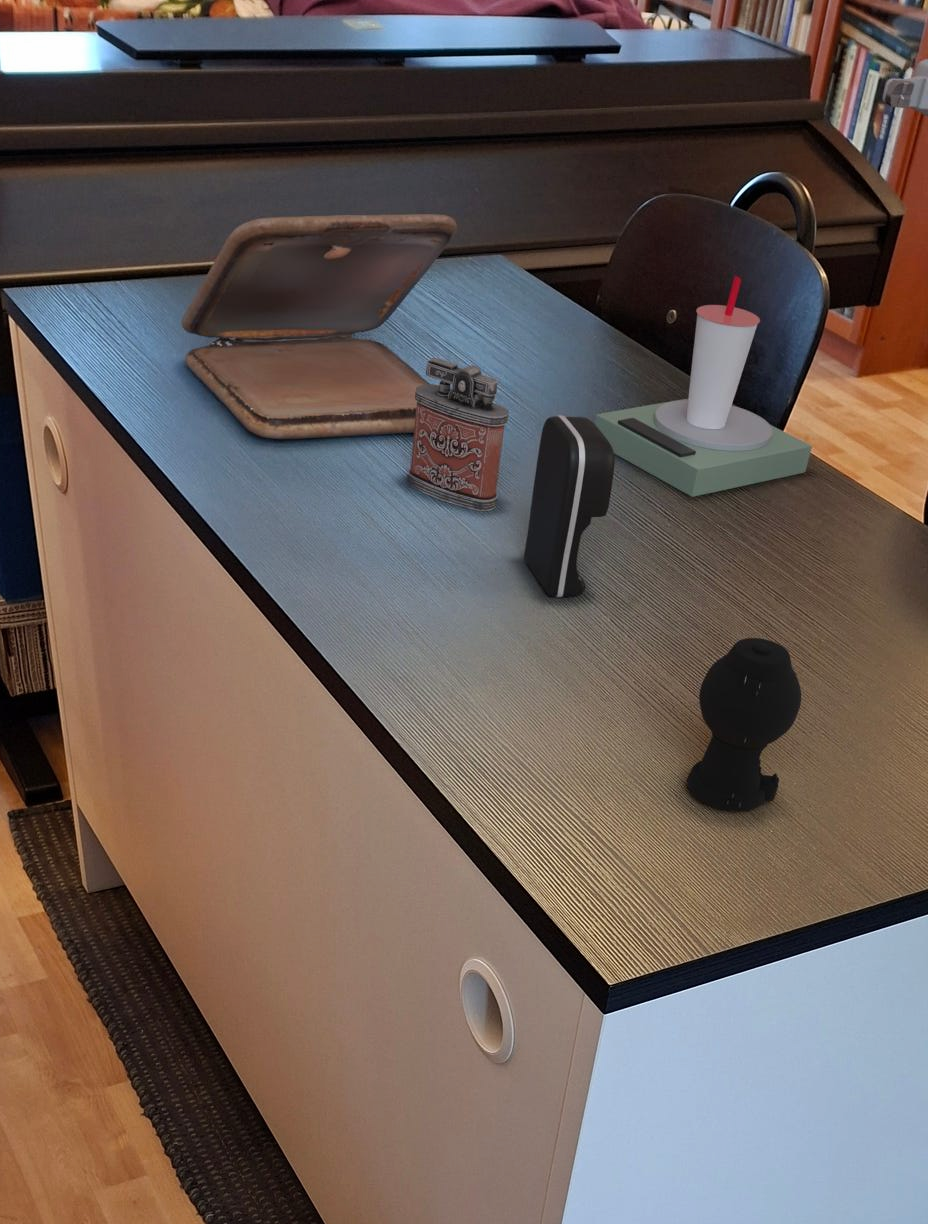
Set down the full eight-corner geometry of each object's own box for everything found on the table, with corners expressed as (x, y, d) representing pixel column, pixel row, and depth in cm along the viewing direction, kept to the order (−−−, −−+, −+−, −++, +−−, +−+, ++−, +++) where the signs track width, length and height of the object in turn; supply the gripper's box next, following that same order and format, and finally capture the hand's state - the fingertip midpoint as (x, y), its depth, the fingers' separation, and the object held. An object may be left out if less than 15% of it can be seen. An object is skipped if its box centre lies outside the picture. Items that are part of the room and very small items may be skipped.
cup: (727, 412, 141) (759, 268, 133) (742, 435, 137) (776, 288, 129) (669, 409, 140) (697, 263, 132) (682, 432, 136) (713, 283, 128)
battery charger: (597, 600, 116) (626, 445, 109) (548, 601, 115) (573, 445, 108) (568, 558, 121) (593, 407, 114) (521, 559, 120) (543, 406, 113)
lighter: (504, 503, 128) (521, 376, 122) (482, 515, 126) (499, 386, 119) (421, 473, 131) (433, 347, 124) (398, 484, 129) (409, 357, 122)
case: (379, 351, 152) (393, 165, 142) (475, 433, 139) (498, 235, 128) (174, 360, 145) (172, 164, 134) (254, 449, 131) (259, 238, 120)
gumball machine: (772, 834, 95) (815, 684, 88) (673, 816, 95) (709, 665, 89) (773, 777, 100) (814, 631, 93) (680, 760, 100) (714, 614, 94)
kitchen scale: (704, 420, 148) (711, 387, 146) (805, 472, 140) (814, 438, 138) (591, 441, 140) (597, 407, 139) (691, 497, 133) (699, 462, 131)
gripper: (1122, 195, 124) (967, 186, 120) (990, 130, 138) (848, 120, 134) (1154, 103, 119) (994, 91, 116) (1015, 45, 134) (869, 33, 130)
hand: (915, 106), depth 125 cm, fingers open, 8 cm apart
